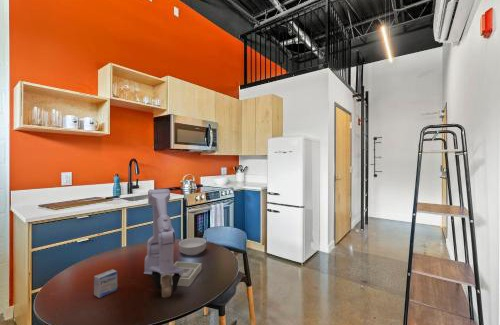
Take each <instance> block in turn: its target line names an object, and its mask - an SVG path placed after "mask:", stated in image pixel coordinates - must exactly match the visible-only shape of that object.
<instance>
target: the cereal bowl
mask: <svg viewBox="0 0 500 325" xmlns="http://www.w3.org/2000/svg"><path fill="white" fill-rule="evenodd" d="M206 248H207V240H206V239H205V238H202V237H189V238H185V239H182V240H180V241H179V243H178V249H179V251H180V253H182V254H184V255H186V256H193V257H194V256H197V255H199V254H200V253H203V252H204V251H205V249H206Z"/></svg>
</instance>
